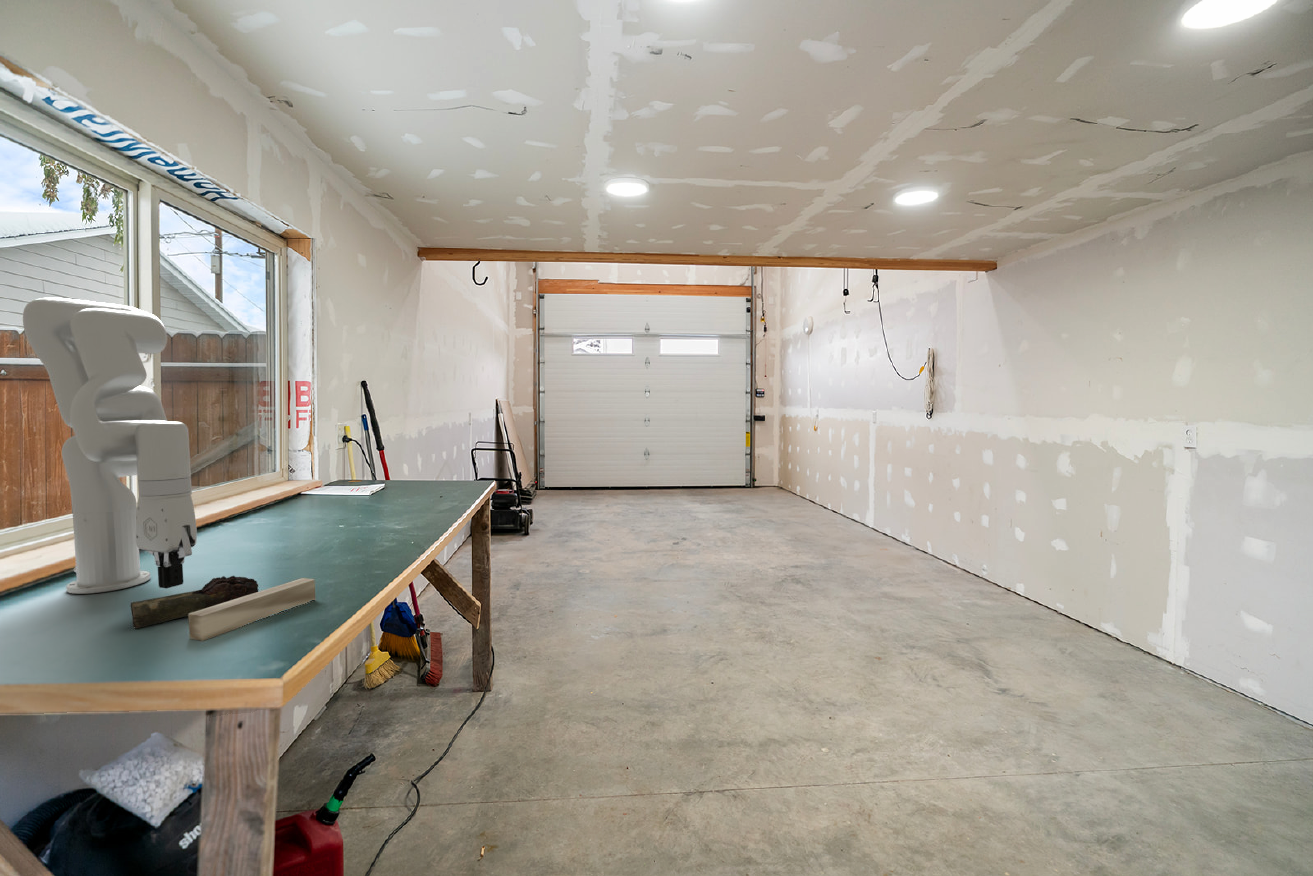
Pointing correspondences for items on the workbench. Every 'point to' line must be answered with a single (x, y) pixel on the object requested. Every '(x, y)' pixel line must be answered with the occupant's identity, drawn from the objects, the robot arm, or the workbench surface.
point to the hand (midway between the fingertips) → (171, 585)
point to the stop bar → (249, 608)
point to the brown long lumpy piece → (191, 600)
